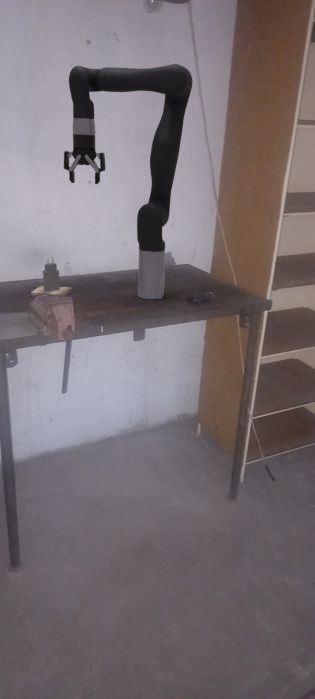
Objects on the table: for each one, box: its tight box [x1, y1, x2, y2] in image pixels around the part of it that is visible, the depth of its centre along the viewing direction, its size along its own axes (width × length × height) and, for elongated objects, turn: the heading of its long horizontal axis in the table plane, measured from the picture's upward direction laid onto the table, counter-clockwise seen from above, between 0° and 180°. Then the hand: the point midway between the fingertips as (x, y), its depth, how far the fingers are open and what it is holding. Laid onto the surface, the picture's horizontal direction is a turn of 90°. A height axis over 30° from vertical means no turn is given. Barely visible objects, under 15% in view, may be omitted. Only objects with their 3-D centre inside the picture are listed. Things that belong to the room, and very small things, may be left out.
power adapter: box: [42, 256, 61, 291], centre depth 187 cm, size 3×5×12 cm, turn 120°
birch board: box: [30, 285, 72, 297], centre depth 190 cm, size 12×10×1 cm
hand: (84, 183), depth 182 cm, fingers open, 8 cm apart
